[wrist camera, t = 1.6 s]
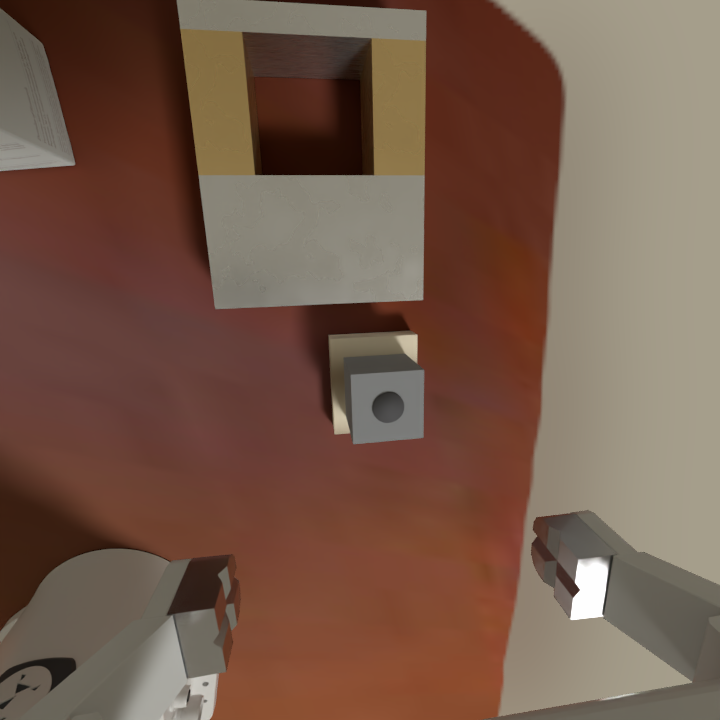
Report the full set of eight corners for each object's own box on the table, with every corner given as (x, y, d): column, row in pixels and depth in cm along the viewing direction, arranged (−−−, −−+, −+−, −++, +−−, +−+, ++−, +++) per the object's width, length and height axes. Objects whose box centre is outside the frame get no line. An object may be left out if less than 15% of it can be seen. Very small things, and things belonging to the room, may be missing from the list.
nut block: (405, 411, 31) (423, 438, 26) (345, 416, 30) (353, 444, 26) (405, 353, 30) (424, 370, 25) (343, 357, 29) (351, 375, 24)
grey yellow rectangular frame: (404, 295, 31) (423, 300, 26) (230, 302, 29) (215, 309, 24) (404, 57, 27) (426, 10, 22) (201, 48, 25) (176, -5, 20)
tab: (410, 418, 33) (416, 427, 32) (332, 424, 33) (334, 434, 31) (410, 330, 32) (417, 334, 30) (328, 335, 31) (329, 339, 29)
